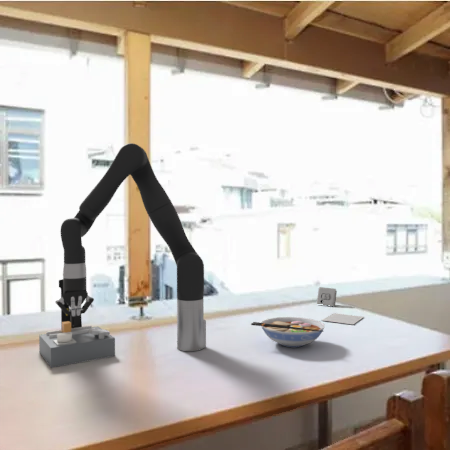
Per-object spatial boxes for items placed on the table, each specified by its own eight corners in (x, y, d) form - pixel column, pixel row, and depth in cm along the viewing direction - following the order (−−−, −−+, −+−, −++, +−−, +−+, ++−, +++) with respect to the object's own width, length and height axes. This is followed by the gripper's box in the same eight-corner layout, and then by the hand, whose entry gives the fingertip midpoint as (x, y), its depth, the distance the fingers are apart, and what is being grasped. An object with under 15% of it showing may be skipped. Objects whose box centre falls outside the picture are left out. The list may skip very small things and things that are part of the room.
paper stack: (385, 321, 192) (385, 319, 192) (371, 333, 171) (371, 332, 171) (334, 314, 204) (334, 313, 204) (314, 325, 183) (314, 324, 183)
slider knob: (69, 331, 150) (68, 321, 150) (71, 333, 148) (71, 322, 147) (61, 332, 149) (61, 322, 149) (63, 334, 146) (63, 323, 146)
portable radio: (72, 342, 159) (71, 274, 159) (57, 341, 160) (56, 273, 160) (83, 336, 167) (82, 271, 166) (69, 335, 168) (68, 271, 168)
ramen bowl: (333, 340, 160) (333, 318, 160) (319, 358, 140) (320, 333, 140) (269, 333, 171) (269, 312, 171) (247, 349, 150) (247, 325, 150)
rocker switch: (105, 333, 147) (106, 329, 147) (109, 335, 144) (109, 332, 144) (88, 332, 144) (88, 328, 144) (91, 334, 141) (92, 330, 141)
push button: (70, 337, 141) (69, 331, 141) (73, 340, 137) (73, 334, 137) (55, 339, 139) (55, 333, 139) (59, 343, 135) (58, 336, 135)
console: (98, 342, 158) (98, 320, 158) (115, 355, 143) (114, 331, 143) (39, 352, 147) (39, 328, 147) (50, 367, 132) (50, 341, 132)
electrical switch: (316, 305, 225) (317, 287, 226) (320, 304, 229) (321, 286, 230) (333, 307, 219) (334, 288, 220) (337, 306, 224) (338, 288, 224)
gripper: (57, 278, 143) (57, 331, 143) (97, 275, 150) (97, 325, 150) (52, 276, 149) (52, 326, 149) (91, 273, 156) (91, 321, 157)
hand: (75, 326), depth 150 cm, fingers closed
